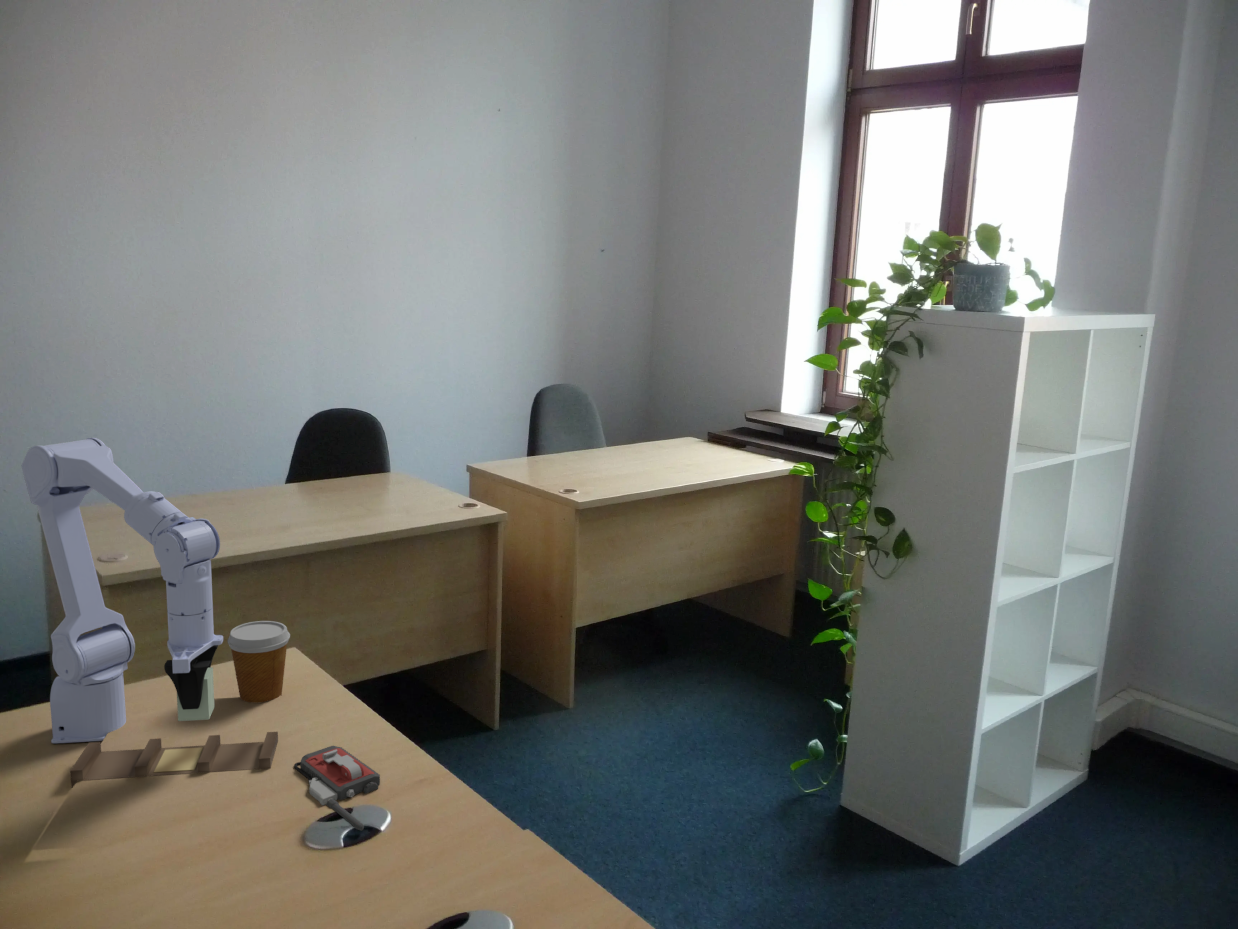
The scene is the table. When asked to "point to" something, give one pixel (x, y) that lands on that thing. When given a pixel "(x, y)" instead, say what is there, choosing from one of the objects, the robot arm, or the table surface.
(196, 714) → the sage block
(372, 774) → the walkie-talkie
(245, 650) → the disposable coffee cup
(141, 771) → the notch rail
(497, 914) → the table surface
